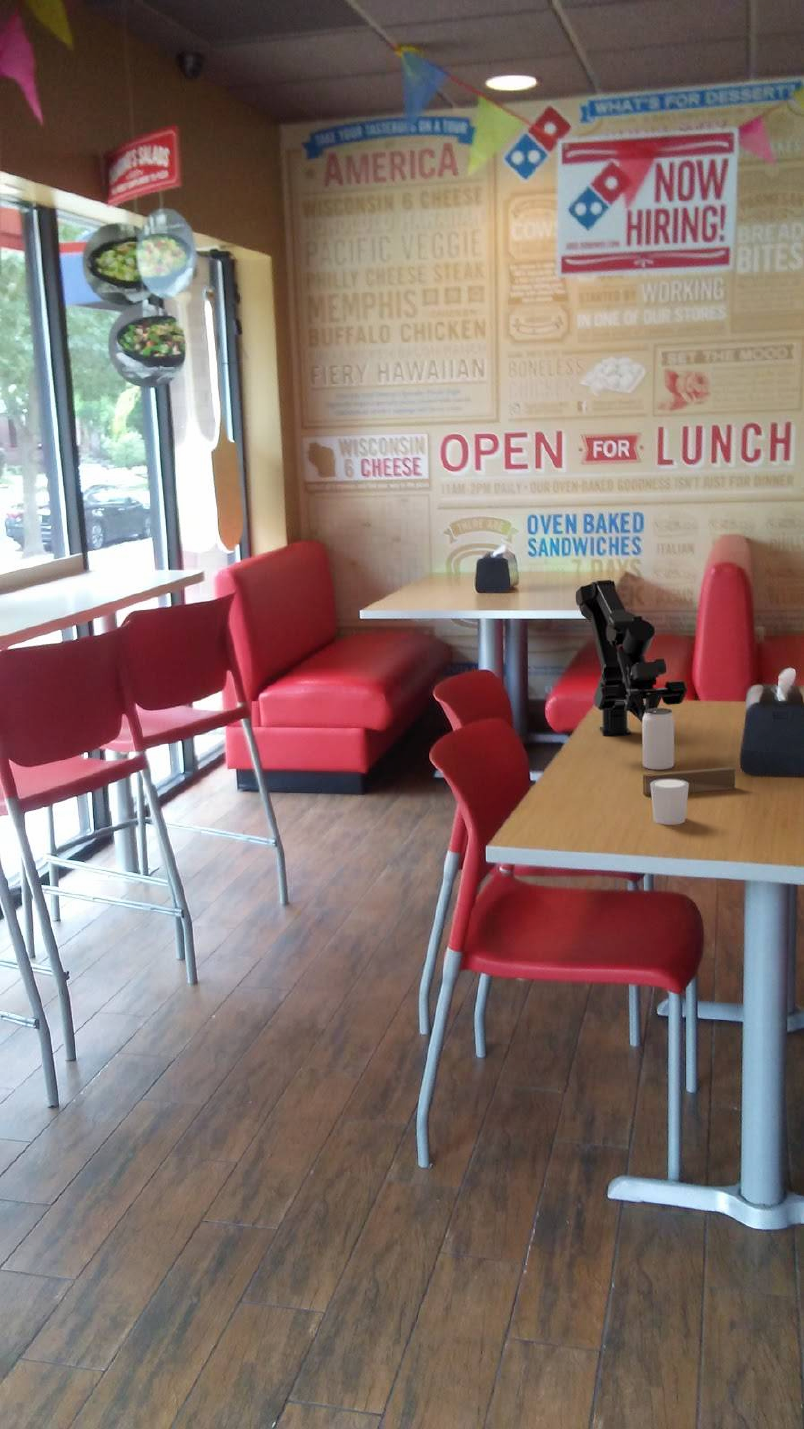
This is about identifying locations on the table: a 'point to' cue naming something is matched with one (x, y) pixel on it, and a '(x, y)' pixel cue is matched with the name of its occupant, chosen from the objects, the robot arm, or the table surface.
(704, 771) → the rail
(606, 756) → the table surface
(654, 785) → the white cup
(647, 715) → the can
